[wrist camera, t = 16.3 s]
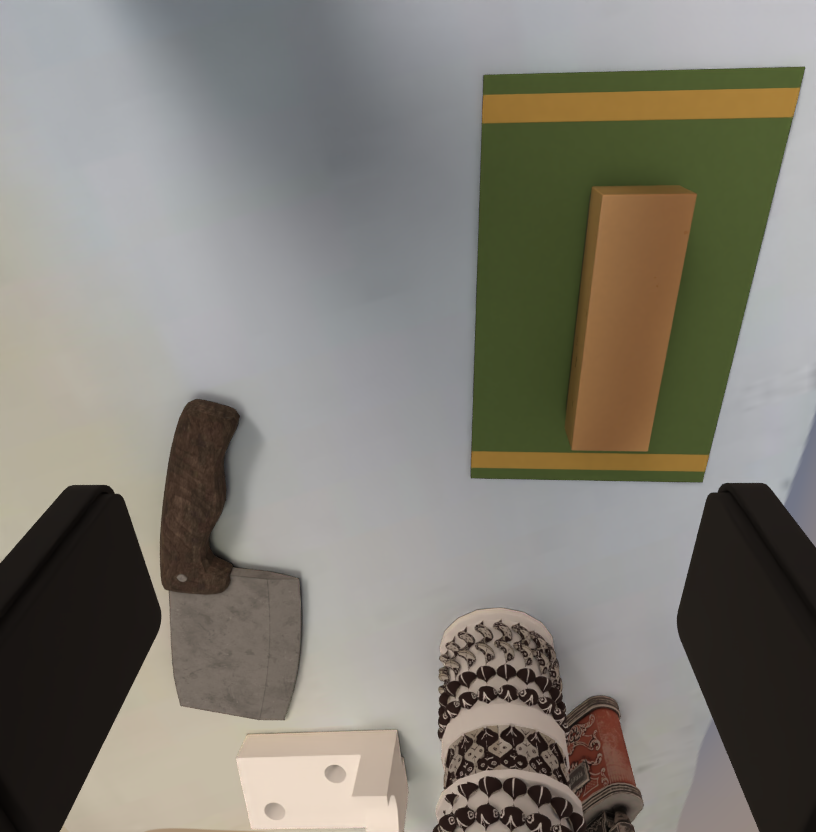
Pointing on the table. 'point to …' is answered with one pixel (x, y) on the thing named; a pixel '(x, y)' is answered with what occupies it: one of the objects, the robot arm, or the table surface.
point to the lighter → (602, 767)
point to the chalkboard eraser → (625, 313)
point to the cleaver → (221, 587)
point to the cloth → (564, 245)
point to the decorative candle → (503, 728)
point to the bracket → (324, 780)
